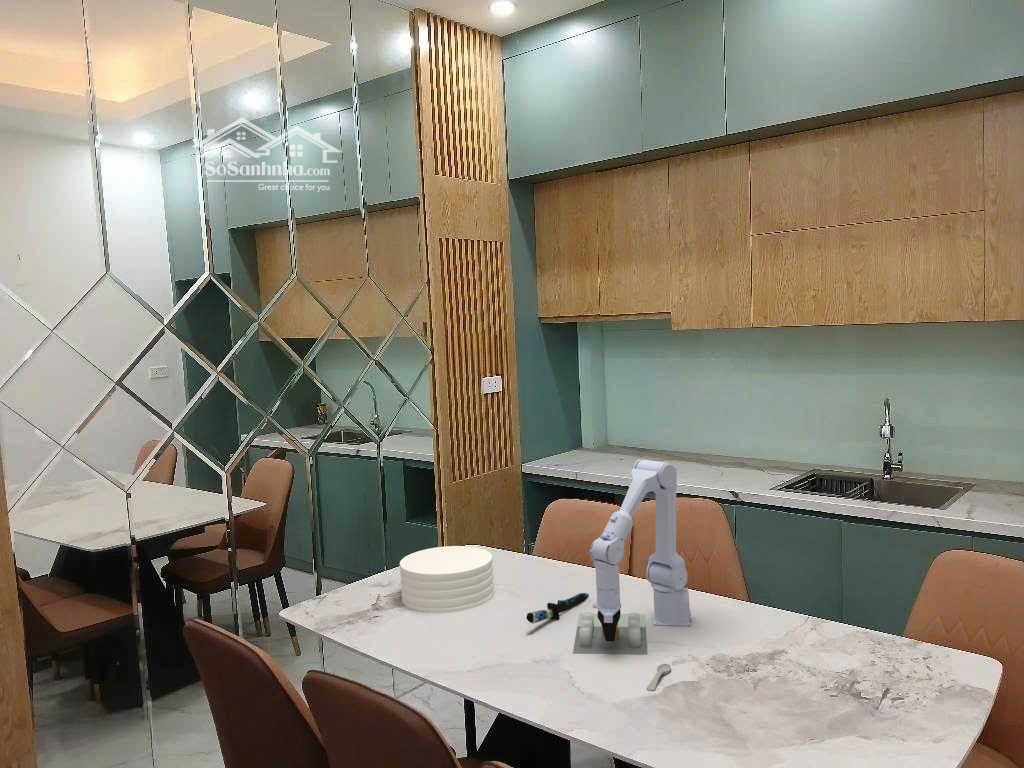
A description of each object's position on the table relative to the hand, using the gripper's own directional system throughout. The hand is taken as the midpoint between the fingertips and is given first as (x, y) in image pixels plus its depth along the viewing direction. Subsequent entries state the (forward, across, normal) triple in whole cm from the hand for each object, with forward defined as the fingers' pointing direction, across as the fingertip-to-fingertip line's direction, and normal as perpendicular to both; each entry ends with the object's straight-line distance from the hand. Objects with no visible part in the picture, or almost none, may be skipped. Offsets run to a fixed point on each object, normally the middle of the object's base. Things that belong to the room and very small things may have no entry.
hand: (610, 640), depth 191 cm
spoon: (+2, +17, +11) cm, 21 cm away
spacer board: (+2, -8, 0) cm, 8 cm away
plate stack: (+2, -36, -50) cm, 61 cm away
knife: (+2, -20, -14) cm, 25 cm away
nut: (+1, -5, 0) cm, 5 cm away
